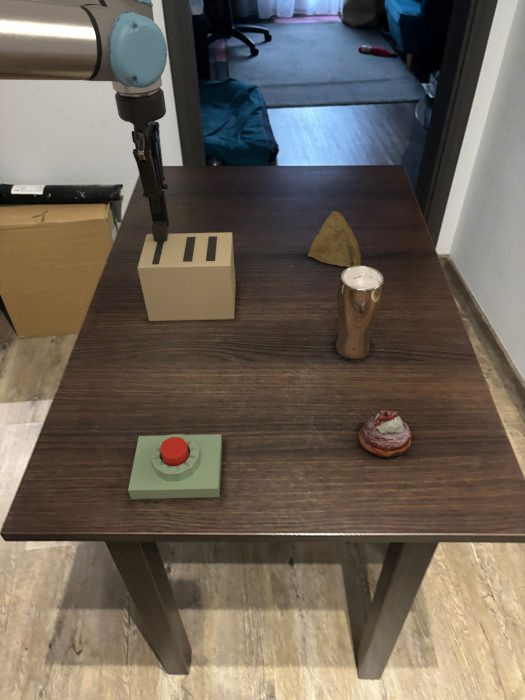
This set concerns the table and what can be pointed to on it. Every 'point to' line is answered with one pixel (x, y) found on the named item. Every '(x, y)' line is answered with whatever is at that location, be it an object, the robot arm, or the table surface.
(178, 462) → the red button
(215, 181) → the table surface
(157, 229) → the button
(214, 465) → the control block
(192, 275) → the toaster
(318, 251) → the rock
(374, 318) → the beer glass
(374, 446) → the pastry
